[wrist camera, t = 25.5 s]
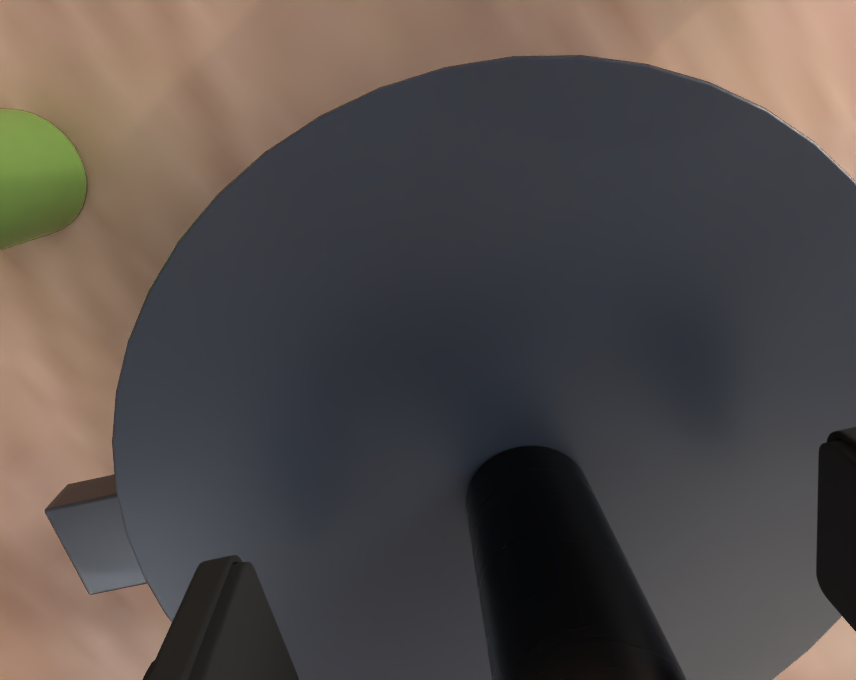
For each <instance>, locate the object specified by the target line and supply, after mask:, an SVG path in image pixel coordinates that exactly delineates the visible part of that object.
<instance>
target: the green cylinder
mask: <svg viewBox="0 0 856 680" xmlns="http://www.w3.org/2000/svg"><path fill="white" fill-rule="evenodd" d="M86 187H87V183H86V175H85V170H84V167H83V164H82V161H81V159H80V157H79V154H78V152H77V151H76V149H75V148H74V146H73V145H72V143H71V142H70V141H69V139H68V138H67V137H66V136H65V135H64V134H63V133H62V132H61V131H60V130H59V129H57V128H56V127H55V126H54V125H53V124H51V123H50V122H48V121H47V120H45V119H43V118H41V117H39V116H37V115H35V114H32V113H29V112H26V111H22V110H15V109H0V250H3V249H6V248H9V247H12V246H15V245H18V244H21V243H24V242H27V241H30V240H33V239H36V238H39V237H42V236H45V235H48V234H51V233H54V232H57V231H59V230H61V229H63V228H65V227H66V226H68V225H69V224H70V223H71V222H72V221H73V220H74V219H75V218H76V217H77V215H78V214H79V212H80V210H81V209H82V206H83V204H84V201H85V196H86Z"/></svg>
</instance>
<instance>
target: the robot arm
mask: <svg viewBox="0 0 856 680" xmlns="http://www.w3.org/2000/svg"><path fill="white" fill-rule="evenodd" d="M816 576H817V580H818V583H819V586H820V588H821V590H822V592H823V594H824V595H825V597H826V598H827V599H828V600H829V602H830V603H831V604H832V605H833V606H834V607H835V608H836V610H837V611H838V612H839V613H840V614H841V615H842V616H843V618H844V619H845V620H846V621H847V622H848V623H849V624H850V626H851V627H852V628H853V629H854V630H855V631H856V427H853V428H848V429H843V430H838V431H834V432H832V433H830V434H829V436H828V438H827V443H823V444H821V446H820V447H819V458H818V507H817V555H816ZM143 680H299V678H298V675H297V672H296V670H295V667H294V665H293V662H292V660H291V657H290V655H289V652H288V650H287V647H286V645H285V643H284V640H283V638H282V635H281V633H280V630H279V628H278V625H277V623H276V620H275V618H274V615H273V613H272V610H271V608H270V605H269V603H268V600H267V598H266V596H265V593H264V591H263V588H262V586H261V583H260V581H259V578H258V576H257V573H256V571H255V568H254V566H253V564H252V563H251V562H248V561H247V562H242V560H241V558H240V557H239V556H238V555H231V556H227V557H222V558H217V559H212V560H207V561H203V562H201V563H200V564H199V565H198V567H197V569H196V571H195V573H194V575H193V578H192V580H191V582H190V584H189V586H188V589H187V591H186V593H185V595H184V597H183V600H182V602H181V604H180V606H179V608H178V611H177V613H176V615H175V617H174V620H173V622H172V624H171V626H170V628H169V631H168V633H167V635H166V637H165V639H164V642H163V644H162V646H161V648H160V650H159V653H158V655H157V657H156V659H155V660H154V661H153V662H152V663H151V665H150V667H149V668H148V670H147V672H146V673H145V676H144V678H143Z"/></svg>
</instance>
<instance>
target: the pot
mask: <svg viewBox="0 0 856 680" xmlns="http://www.w3.org/2000/svg"><path fill="white" fill-rule="evenodd" d="M45 513H46V515H47V517H48V519H49V521H50V523H51V524H52V526H53V528H54V530H55V532H56V534H57V536H58V537H59V539H60V541H61V543H62V545H63V547H64V549H65V550H66V552H67V554H68V556H69V558H70V560H71V562H72V563H73V565H74V567H75V569H76V571H77V573H78V575H79V576H80V578H81V580H82V582H83V584H84V586H85V588H86V589H87V591H88V593H89V594H91V595H92V594H97V593H102V592H107V591H112V590H117V589H122V588H126V587H131V586H136V585H141V584H146V583H147V581H146V580H145V578H144V576H143V574H142V572H141V569H140V567H139V564H138V562H137V559H136V557H135V554H134V552H133V549H132V547H131V544H130V542H129V539H128V537H127V534H126V530H125V526H124V522H123V517H122V513H121V509H120V505H119V501H118V496H117V492H116V484H115V475H110V476H105V477H101V478H96V479H91V480H86V481H82V482H77V483H72V484H68V485H67V486H66V487H65V488H64V489H63V490H62V491H61V492H60V493H59V495H58V496H57V497H56V498H55V499H54V500H53V501H52V502H51V503H50V504H49V505H48V507H47V508H46V509H45Z"/></svg>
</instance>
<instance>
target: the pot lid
mask: <svg viewBox="0 0 856 680" xmlns="http://www.w3.org/2000/svg"><path fill="white" fill-rule="evenodd" d="M853 427H856V182H855V180H854V179H852V178H851V177H850V176H849V175H848V174H847V173H846V172H845V171H844V170H843V169H842V168H841V167H840V166H839V165H838V164H837V163H836V162H835V161H834V160H833V159H832V158H831V157H830V156H829V155H827V154H826V153H825V152H824V151H823V150H822V149H821V148H820V147H819V146H818V145H817V144H816V143H815V142H814V141H812V140H811V139H809V138H808V137H807V136H805V135H804V134H802V133H801V132H799V131H798V130H796V129H795V128H793V127H792V126H790V125H789V124H788V123H786V122H785V121H783V120H782V119H780V118H779V117H777V116H776V115H774V114H773V113H771V112H770V111H768V110H767V109H766V108H764V107H762V106H759V105H757V104H755V103H753V102H751V101H749V100H747V99H744V98H742V97H740V96H738V95H736V94H734V93H732V92H729V91H727V90H725V89H723V88H721V87H719V86H717V85H715V84H712V83H710V82H708V81H704V80H701V79H697V78H694V77H690V76H687V75H684V74H680V73H677V72H673V71H670V70H666V69H663V68H659V67H656V66H652V65H649V64H644V63H636V62H629V61H621V60H613V59H606V58H598V57H591V56H583V55H564V56H512V57H506V58H499V59H493V60H487V61H481V62H475V63H468V64H462V65H456V66H450V67H444V68H441V69H438V70H435V71H431V72H428V73H425V74H422V75H419V76H415V77H412V78H409V79H406V80H403V81H399V82H396V83H393V84H390V85H387V86H383V87H380V88H378V89H376V90H374V91H372V92H369V93H367V94H365V95H363V96H361V97H359V98H357V99H355V100H353V101H350V102H348V103H346V104H344V105H342V106H340V107H338V108H336V109H334V110H332V111H329V112H327V113H325V114H323V115H321V116H319V117H317V118H316V119H314V120H313V121H311V122H310V123H308V124H307V125H305V126H304V127H302V128H301V129H299V130H298V131H296V132H295V133H293V134H292V135H290V136H289V137H287V138H286V139H284V140H283V141H281V142H280V143H278V144H277V145H275V146H274V147H272V148H271V149H269V150H268V151H266V152H265V153H263V154H262V155H261V156H260V157H259V158H258V159H257V160H256V161H254V162H253V163H252V164H251V165H250V166H249V167H248V168H247V169H246V170H244V171H243V172H242V173H241V174H240V175H239V176H238V177H237V178H235V179H234V180H233V181H232V182H231V183H230V184H229V185H228V186H227V187H225V188H224V189H223V190H222V191H221V192H220V193H219V194H218V195H217V196H216V197H215V198H214V199H213V201H212V202H211V203H210V204H209V205H208V207H207V208H206V209H205V210H204V211H203V213H202V214H201V215H200V216H199V217H198V219H197V220H196V221H195V222H194V223H193V225H192V226H191V227H190V228H189V229H188V231H187V232H186V233H185V234H184V235H183V237H182V238H181V239H180V240H179V241H178V243H177V245H176V246H175V248H174V250H173V251H172V253H171V255H170V256H169V258H168V260H167V261H166V263H165V265H164V266H163V268H162V270H161V271H160V273H159V275H158V276H157V278H156V280H155V281H154V283H153V285H152V286H151V288H150V289H149V291H148V294H147V296H146V299H145V301H144V304H143V306H142V308H141V311H140V313H139V316H138V318H137V321H136V323H135V325H134V328H133V330H132V333H131V335H130V338H129V340H128V344H127V348H126V352H125V356H124V360H123V364H122V369H121V373H120V377H119V381H118V385H117V390H116V399H115V411H114V424H113V437H112V447H113V459H114V472H115V484H116V492H117V496H118V501H119V505H120V509H121V513H122V517H123V522H124V526H125V530H126V534H127V537H128V539H129V542H130V544H131V547H132V549H133V552H134V554H135V557H136V559H137V562H138V564H139V567H140V569H141V572H142V574H143V576H144V578H145V580H146V581H147V583H148V585H149V587H150V588H151V590H152V592H153V593H154V595H155V597H156V599H157V600H158V602H159V604H160V606H161V607H162V609H163V611H164V612H165V614H166V615H167V616H168V618H169V619H170V620H171V622H173V620H174V617H175V615H176V613H177V611H178V608H179V606H180V604H181V602H182V600H183V597H184V595H185V593H186V591H187V589H188V586H189V584H190V582H191V580H192V578H193V575H194V573H195V571H196V569H197V567H198V565H199V564H200V563H201V562H203V561H207V560H212V559H217V558H222V557H227V556H231V555H238V556H239V557H240V558H241V560H242V562H247V561H248V562H251V563H252V564H253V566H254V568H255V571H256V573H257V576H258V578H259V581H260V583H261V586H262V588H263V591H264V593H265V596H266V598H267V600H268V603H269V605H270V608H271V610H272V613H273V615H274V618H275V620H276V623H277V625H278V628H279V630H280V633H281V635H282V638H283V640H284V643H285V645H286V647H287V650H288V652H289V655H290V657H291V660H292V662H293V665H294V667H295V670H296V672H297V675H298V678H299V680H772V679H774V678H775V677H776V676H778V675H779V674H780V673H781V672H782V671H784V670H785V669H786V668H787V667H788V666H790V665H791V664H792V663H793V662H795V661H796V660H797V659H798V658H799V657H801V656H802V655H803V654H804V653H806V652H807V651H808V650H809V649H810V648H811V647H812V646H813V645H814V644H815V643H816V642H817V641H818V640H819V639H820V638H821V637H822V636H823V635H824V634H825V633H826V632H827V631H828V630H829V629H830V628H831V627H832V626H833V625H834V624H835V623H836V622H837V621H838V620H839V619H840V617H841V616H842V615H841V614H840V613H839V612H838V611H837V610H836V608H835V607H834V606H833V605H832V604H831V603H830V602H829V600H828V599H827V598H826V597H825V595H824V594H823V592H822V590H821V588H820V586H819V583H818V580H817V576H816V555H817V507H818V458H819V447H820V446H821V444H823V443H827V438H828V436H829V434H830V433H832V432H834V431H838V430H843V429H848V428H853Z"/></svg>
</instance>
